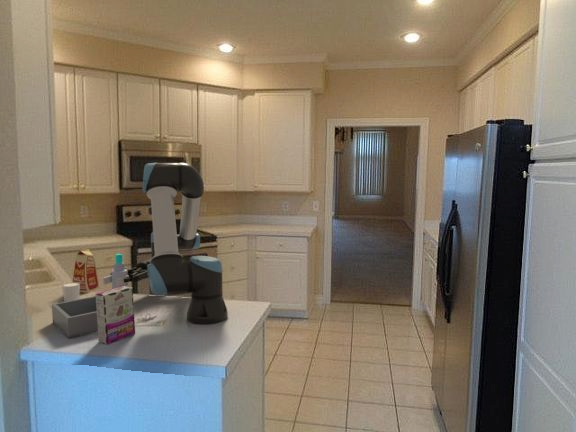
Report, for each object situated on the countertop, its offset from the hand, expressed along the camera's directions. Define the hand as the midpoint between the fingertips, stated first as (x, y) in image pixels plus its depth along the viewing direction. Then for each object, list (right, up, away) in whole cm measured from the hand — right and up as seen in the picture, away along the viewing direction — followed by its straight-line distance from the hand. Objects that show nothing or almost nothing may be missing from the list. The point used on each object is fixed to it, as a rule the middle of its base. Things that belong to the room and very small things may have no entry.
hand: (110, 281), depth 168 cm
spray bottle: (+2, -12, +6) cm, 13 cm away
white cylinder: (-23, -11, +16) cm, 30 cm away
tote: (-4, -13, -13) cm, 19 cm away
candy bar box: (+13, -15, -25) cm, 32 cm away
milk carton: (-25, -9, +33) cm, 42 cm away
